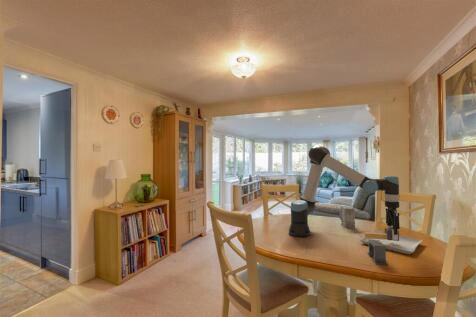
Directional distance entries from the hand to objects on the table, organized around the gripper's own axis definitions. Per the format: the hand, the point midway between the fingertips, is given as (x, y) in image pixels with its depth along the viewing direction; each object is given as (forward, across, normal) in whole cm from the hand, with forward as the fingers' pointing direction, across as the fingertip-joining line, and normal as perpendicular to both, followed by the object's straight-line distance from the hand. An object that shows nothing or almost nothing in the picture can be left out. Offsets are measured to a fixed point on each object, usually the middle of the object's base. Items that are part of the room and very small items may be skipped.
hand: (392, 237), depth 141 cm
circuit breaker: (+4, +39, +18) cm, 43 cm away
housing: (+4, -26, +18) cm, 32 cm away
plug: (+1, 0, +6) cm, 6 cm away
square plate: (+5, 0, +1) cm, 5 cm away
